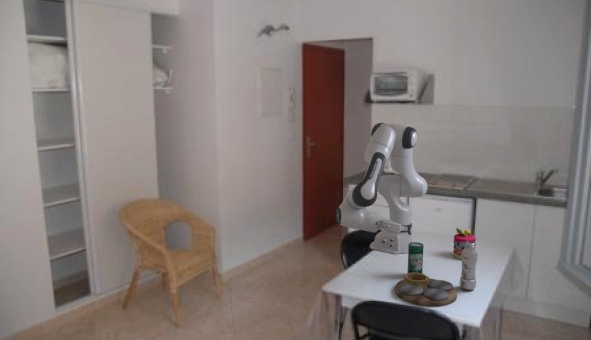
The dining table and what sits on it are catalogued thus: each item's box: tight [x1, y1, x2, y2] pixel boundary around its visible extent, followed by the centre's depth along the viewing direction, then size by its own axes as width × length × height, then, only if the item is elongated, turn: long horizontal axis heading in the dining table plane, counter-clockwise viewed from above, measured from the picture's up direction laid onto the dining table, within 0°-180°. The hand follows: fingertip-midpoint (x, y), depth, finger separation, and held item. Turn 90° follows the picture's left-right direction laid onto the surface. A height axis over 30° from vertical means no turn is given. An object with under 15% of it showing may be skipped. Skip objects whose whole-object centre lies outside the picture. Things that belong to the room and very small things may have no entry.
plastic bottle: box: [459, 241, 479, 291], centre depth 195 cm, size 6×7×20 cm
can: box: [407, 241, 424, 274], centre depth 208 cm, size 6×6×15 cm
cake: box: [452, 227, 477, 261], centre depth 233 cm, size 10×10×15 cm
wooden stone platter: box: [395, 272, 458, 307], centre depth 192 cm, size 24×24×4 cm
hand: (402, 227), depth 205 cm, fingers open, 8 cm apart
